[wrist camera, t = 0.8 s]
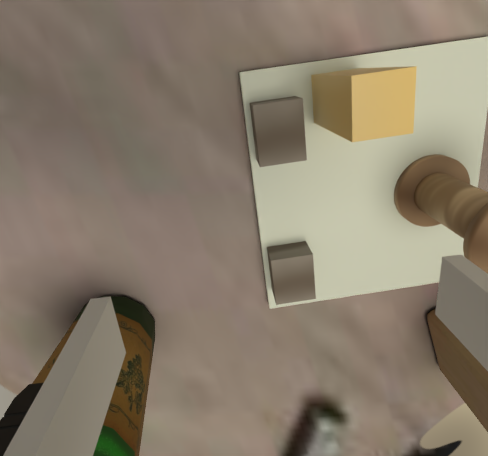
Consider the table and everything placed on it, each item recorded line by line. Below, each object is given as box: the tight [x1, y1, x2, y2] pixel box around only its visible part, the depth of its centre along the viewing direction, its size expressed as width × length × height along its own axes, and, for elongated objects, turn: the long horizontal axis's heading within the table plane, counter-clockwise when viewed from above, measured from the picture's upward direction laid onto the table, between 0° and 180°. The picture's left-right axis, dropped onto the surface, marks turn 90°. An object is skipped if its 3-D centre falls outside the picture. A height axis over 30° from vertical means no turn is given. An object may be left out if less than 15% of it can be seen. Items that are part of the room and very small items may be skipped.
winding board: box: [239, 37, 488, 309], centre depth 36 cm, size 24×22×1 cm
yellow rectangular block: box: [311, 66, 417, 142], centre depth 28 cm, size 4×4×10 cm
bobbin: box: [394, 154, 488, 274], centre depth 31 cm, size 7×7×12 cm
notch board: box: [250, 96, 316, 305], centre depth 34 cm, size 19×4×3 cm, turn 7°
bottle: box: [32, 296, 155, 456], centre depth 28 cm, size 11×11×28 cm
